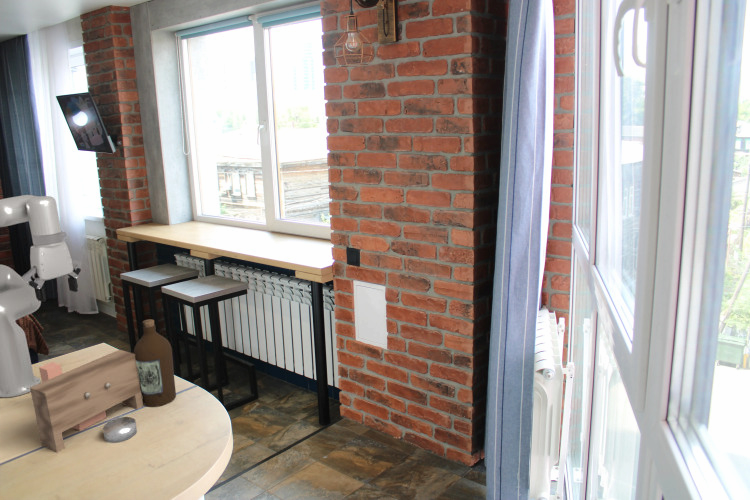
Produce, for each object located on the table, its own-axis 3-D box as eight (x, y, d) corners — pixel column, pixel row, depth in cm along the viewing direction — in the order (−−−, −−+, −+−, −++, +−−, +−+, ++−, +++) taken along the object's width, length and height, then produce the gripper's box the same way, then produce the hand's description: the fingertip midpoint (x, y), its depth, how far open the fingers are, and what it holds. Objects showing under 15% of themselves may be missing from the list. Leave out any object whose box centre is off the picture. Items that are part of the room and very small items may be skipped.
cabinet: (41, 445, 150) (29, 387, 146) (128, 400, 172) (119, 349, 168) (59, 453, 146) (47, 394, 142) (145, 406, 168) (137, 354, 164)
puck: (99, 436, 154) (97, 426, 153) (128, 423, 159) (126, 413, 159) (113, 447, 148) (111, 436, 148) (142, 433, 154) (140, 423, 154)
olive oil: (151, 390, 178) (139, 314, 172) (183, 390, 177) (173, 314, 171) (134, 408, 167) (121, 328, 161) (169, 408, 166) (157, 327, 160)
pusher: (41, 414, 166) (31, 370, 163) (67, 402, 173) (59, 359, 169) (80, 430, 157) (71, 384, 153) (106, 417, 163) (98, 372, 160)
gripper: (68, 232, 174) (78, 286, 178) (9, 245, 160) (21, 303, 164) (83, 234, 170) (92, 289, 174) (24, 247, 156) (36, 306, 160)
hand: (58, 295), depth 169 cm, fingers open, 9 cm apart
